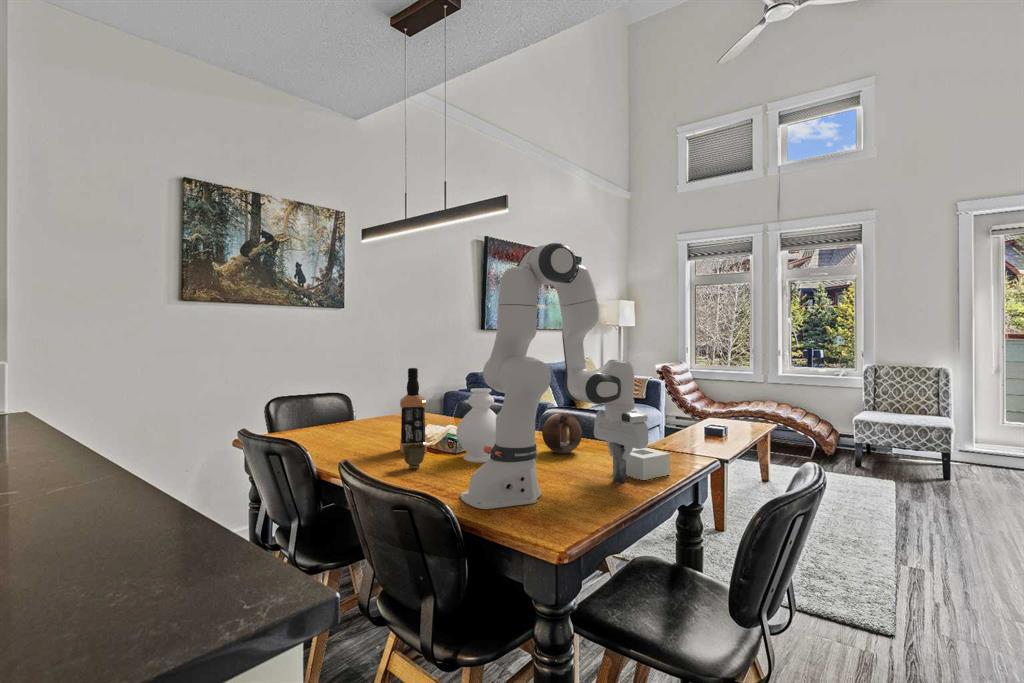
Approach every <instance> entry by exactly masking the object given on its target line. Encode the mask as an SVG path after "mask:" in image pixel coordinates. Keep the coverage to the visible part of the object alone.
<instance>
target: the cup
mask: <svg viewBox="0 0 1024 683" xmlns="http://www.w3.org/2000/svg"><path fill="white" fill-rule="evenodd" d="M424 453H425V446H424V444H422V443H420V444H418V443H417V445H415V444H414V443H413V444H411V443H410V445H408V444H407V446H406V445H405V444H404V445H403V454H404V455H403V459H404V462H405V463H406V464H407V465H408V467H407V468H408V469H409V470H412V471H415V470H418V469H420V466H421V465H420V464H422V462H423V461H424V458H425V454H426V453H425V454H424Z"/></svg>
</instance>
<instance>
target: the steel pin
mask: <svg viewBox="0 0 1024 683" xmlns="http://www.w3.org/2000/svg"><path fill="white" fill-rule="evenodd" d="M625 450H626V449H624V445H621V444H618V443H615V442H613V456H612V482H613V481H614V483H616V482H619V483H618V484H622V483H621V482H625V481H626V482H627V476H626V460H623V459H622V454H624V453H625ZM626 482H625V483H626Z"/></svg>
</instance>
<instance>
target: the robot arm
mask: <svg viewBox="0 0 1024 683" xmlns="http://www.w3.org/2000/svg"><path fill="white" fill-rule="evenodd" d="M542 285H545V286H546V285H551V286H553V288H554V289H555V292H556V294H557V296H558V303H559V309H560V314H561V323H562V330H561V331H562V332H561V333H562V347H563V356H564V364H565V371H564V372H565V374H564V379H563V380H564V381H563V388H564V389H563V390H564V392H565V394H566V396H567V398H569V399H570V400H572V401H575V402H583V403H587V404H591V405H602V404H604V409H599V410H598V411H597V412H596V414H595V415H596V416H595V419H594V425H593V428H594V429H593V436H594V438H596V439H597V440H601V441H605V442H606V445H607V448H608V451H609V456H610V457H613V442H615V443H618V444H621V445H624V449H626V450H625V453H624V454H622V459H623V460H629V459H630V453H631V451H632V449H633V448H636V449H643V448H648V445H649V428H648V425H647V423H646V422H648V414H646V413H644V412H643V411H642V410H640V409H639V408H637V407H636V406H635V399H634V393H635V388H636V387H635V372H634V367H633V365H632V363H630V362H628V361H625V360H618V359H608V360H607V362H606V363H605V364H603V365H602V366H600V367H599V368H597V369H594V370H589V369H588V368H587V365H586V358H585V348H584V341H585V337H586V335H587V334H588V333H589V332H590V331H591V330H593V328H594V327H595V326H596V325H597V323H598V321H599V318H600V317H599V315H600V314H599V302H598V298H597V294H596V289H595V286H594V282H593V280H592V276H591V274H590V272H589V269H588V268H587V267H585V266H584V265H581V264H579V261H578V260H577V258H576V256H575V254H574V251H573V250H572V249H571V247H570V246H568V245H566V244H564V243H561V242H560V243H559V242H552V243H548V244H544V245H539V246H536V247H535V248H532V249H530V250H528V251H526V252H525V253H523V255H522V256H521V257H520V259H519V260H518V263H517V265H516V266H511V267H509V268H507V269H505V271H504V272H503V273H502V276H501V280H500V285H499V291H498V298H497V299H498V300H497V321H496V322H497V323H496V324H497V326H496V335H495V339H494V340H495V341H494V342H493V348H492V350H491V354H490V357H489V358H488V360H487V361H486V362H485V364H484V366H483V369H482V377H483V380H484V382H485V384H486V385H487V386H488V387H490V389H492V390H494V391H495V392H498V393H501V394H502V393H503V394H504V399H503V403H502V406H501V409H500V411H498V412H497V414H496V415H497V416H496V443H495V445H494V447H493V448H491V447H489V446H485V447H486V448H483V450H485V451H484V453H487V454H490V453H491V455H490V459H489V460H488V461H487V462H483V464H482V465H481V466H480V467H479V468H477V470H476V471H475V472H473V473H472V474H471V476H470V480H469V486H468V490H464V491H462V492H461V494H460V499H461V501H462V502H464V503H465V504H467V505H469V506H471V507H473V508H477V509H480V510H491V509H498V508H508V507H513V506H514V507H515V506H516V507H517V506H522V505H530V504H536V503H537V502H538V498H540V497H541V495H542V493H541V490H540V485H539V481H538V475H537V465H536V462H537V454H538V453H537V450H538V449H537V448H538V447H537V443H536V416H537V413H538V407H539V404H540V401H541V400H542V399H541V398H542V397H543V395H544V394H545V393H546V392H547V391H548V389H549V388H550V386H551V382H552V372H551V370H550V368H549V367H548V365H547V363H545V362H543V361H542V360H540V359H537V358H535V357H531V356H527V353H528V350H529V347H530V344H531V342H532V341H533V340H534V339H535V337H536V335H537V329H538V328H537V326H538V325H537V323H538V294H539V290H540V288H541V286H542Z"/></svg>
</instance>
